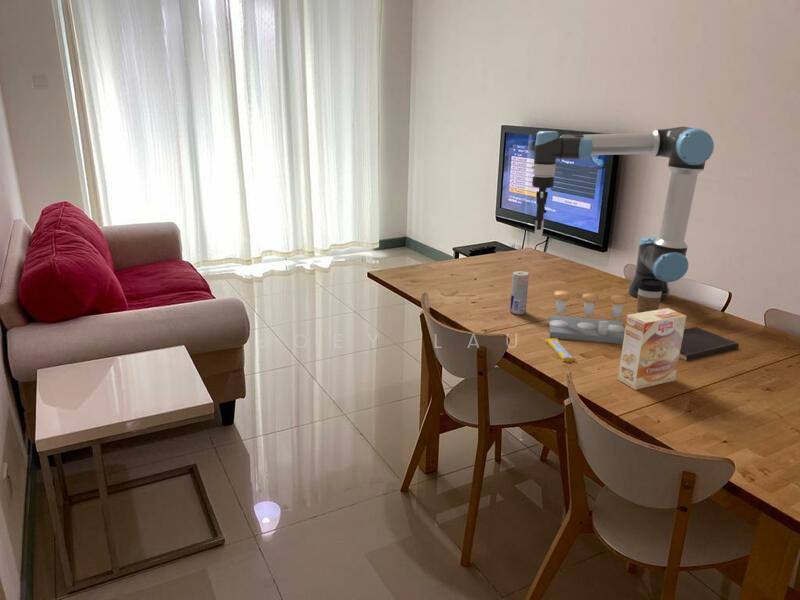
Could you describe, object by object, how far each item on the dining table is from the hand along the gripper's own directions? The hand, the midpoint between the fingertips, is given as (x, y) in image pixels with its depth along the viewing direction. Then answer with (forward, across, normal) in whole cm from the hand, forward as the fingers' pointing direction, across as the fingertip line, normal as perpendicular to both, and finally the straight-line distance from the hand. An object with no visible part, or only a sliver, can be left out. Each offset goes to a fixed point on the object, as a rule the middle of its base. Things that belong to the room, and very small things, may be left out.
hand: (538, 234), depth 226 cm
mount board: (+26, +27, +19) cm, 42 cm away
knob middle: (+20, +27, +19) cm, 39 cm away
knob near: (+20, +27, +28) cm, 43 cm away
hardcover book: (+27, +30, +51) cm, 65 cm away
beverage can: (+26, +14, -5) cm, 30 cm away
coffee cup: (+26, +12, +39) cm, 49 cm away
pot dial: (+24, +33, +23) cm, 47 cm away
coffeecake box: (+26, +61, +34) cm, 74 cm away
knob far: (+20, +28, +10) cm, 35 cm away
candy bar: (+27, +46, +10) cm, 55 cm away
